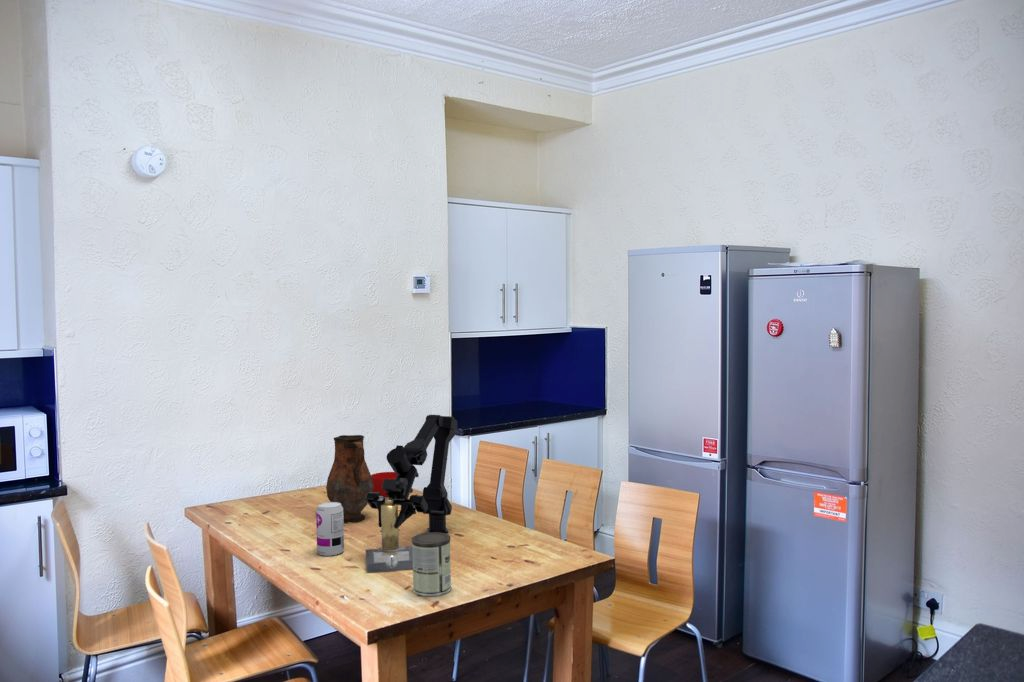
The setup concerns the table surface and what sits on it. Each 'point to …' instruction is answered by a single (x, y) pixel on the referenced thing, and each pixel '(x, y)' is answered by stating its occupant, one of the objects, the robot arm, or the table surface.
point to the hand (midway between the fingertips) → (387, 527)
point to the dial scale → (389, 559)
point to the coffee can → (431, 564)
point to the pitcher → (349, 477)
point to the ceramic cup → (381, 481)
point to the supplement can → (330, 528)
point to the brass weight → (389, 525)
